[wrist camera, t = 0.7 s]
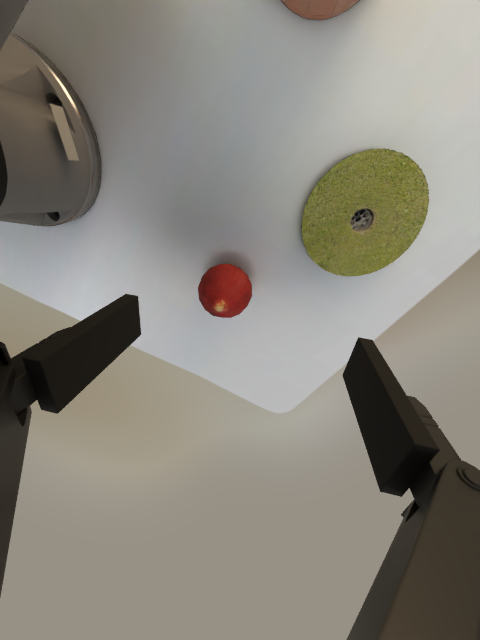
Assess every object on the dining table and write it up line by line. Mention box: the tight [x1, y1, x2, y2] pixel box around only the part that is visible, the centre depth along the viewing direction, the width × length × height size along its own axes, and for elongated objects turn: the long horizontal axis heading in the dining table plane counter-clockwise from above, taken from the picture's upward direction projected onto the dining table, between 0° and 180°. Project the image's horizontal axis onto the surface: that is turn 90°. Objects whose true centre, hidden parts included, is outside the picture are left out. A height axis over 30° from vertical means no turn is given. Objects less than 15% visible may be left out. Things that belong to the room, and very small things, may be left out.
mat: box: [301, 149, 429, 276], centre depth 24 cm, size 11×11×2 cm
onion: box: [198, 264, 252, 318], centre depth 26 cm, size 6×6×8 cm
